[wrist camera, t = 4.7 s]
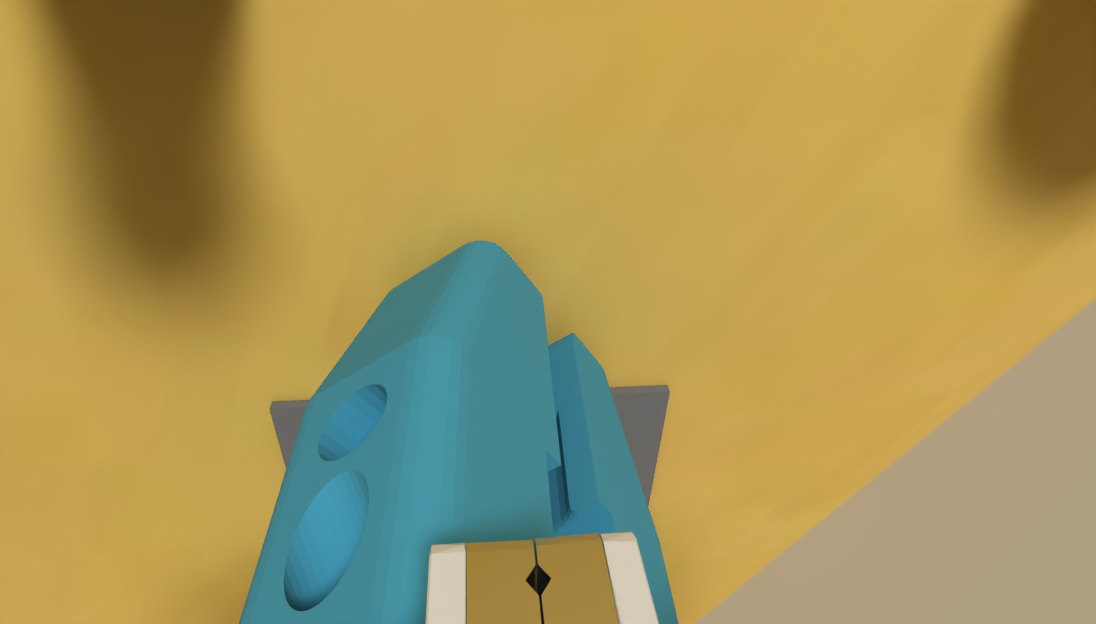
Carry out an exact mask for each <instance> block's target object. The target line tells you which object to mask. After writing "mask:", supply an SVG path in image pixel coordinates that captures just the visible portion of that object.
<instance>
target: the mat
mask: <svg viewBox="0 0 1096 624" xmlns="http://www.w3.org/2000/svg"><path fill="white" fill-rule="evenodd" d="M610 391H611V394H612V397H613V400H614V403H615V406H616V409H617V413H618V416H619V419H620V422H621V425H622V428H623V431H624V434H625V437H626V440H627V443H628V446H629V450H630V453H631V456H632V459H633V462H634V465H635V468H636V471H637V474H638V477H639V480H640V483H641V487H642V490H643V493H644V496H645V499H646V502H647V505H649V500H650V494H651V489H652V484H653V478H654V473H655V468H656V462H657V457H658V452H659V446H660V441H661V436H662V430H663V425H664V420H665V414H666V409H667V404H668V398H669V393H670V391H669V389H668V386H667V385H664V386H640V387H616V388H610ZM309 401H310V400H301V401H277V402H272V404H271V406H270V412H271V415H272V419H273V423H274V426H275V430H276V434H277V437H278V441H279V445H280V448H281V452H282V455H283V459H284V463H285V466H286V469H287V466H288V463H289V459H290V456H291V453H292V450H293V446H294V443H295V440H296V437H297V433H298V430H299V427H300V424H301V420H302V417H303V414H304V411H305V407H306V406H307V404H308V402H309Z"/></svg>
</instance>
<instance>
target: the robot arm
mask: <svg viewBox="0 0 1096 624" xmlns="http://www.w3.org/2000/svg"><path fill="white" fill-rule="evenodd" d="M426 624H659V622H658V618H657V615H656V611H655V607H654V603H653V600H652V596H651V592H650V588H649V584H648V581H647V577H646V573H645V569H644V566H643V562H642V558H641V554H640V550H639V547H638V543H637V539H636V537H635V536H634V534H633V533H632V532H630V531H628V532H617V533H606V534H598V533H591V534H579V535H567V536H556V537H544V538H534V542H533V540H514V541H494V542H474V543H467V547H466V543H453V544H438V545H432V546H431V551H430V555H429V570H428V589H427V607H426Z"/></svg>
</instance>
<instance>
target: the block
mask: <svg viewBox="0 0 1096 624" xmlns="http://www.w3.org/2000/svg"><path fill="white" fill-rule="evenodd" d="M628 531H630V532H632V533H633V534H634V536H635V537H636V539H637V543H638V547H639V550H640V554H641V558H642V562H643V566H644V569H645V573H646V577H647V581H648V584H649V588H650V592H651V596H652V600H653V603H654V607H655V611H656V615H657V618H658V622H659V624H678V620H677V615H676V611H675V607H674V603H673V598H672V594H671V590H670V585H669V581H668V577H667V573H666V568H665V564H664V560H663V556H662V551H661V547H660V543H659V539H658V536H657V533H656V530H655V527H654V524H653V520H652V517H651V514H650V511H649V508H648V505H647V502H646V499H645V496H644V493H643V490H642V487H641V483H640V480H639V477H638V474H637V471H636V468H635V465H634V462H633V459H632V456H631V453H630V450H629V446H628V443H627V440H626V437H625V434H624V431H623V428H622V425H621V422H620V419H619V416H618V413H617V409H616V406H615V403H614V400H613V397H612V394H611V391H610V388H609V385H608V382H607V379H606V376H605V372H604V370H603V368H602V366H601V365H600V364H599V363H598V361H597V360H596V359H595V358H594V357H593V355H592V354H591V353H590V352H589V351H588V349H587V348H586V347H585V346H584V345H583V343H582V342H581V341H580V340H579V339H578V337H577V336H576V335H575V334H574V333H572V334H570V335H568V336H566V337H564V338H562V339H561V340H559V341H557V342H555V343H553V344H551V345H549V346H548V342H547V333H546V324H545V315H544V306H543V298H542V296H541V294H540V292H539V291H538V290H537V288H536V287H535V286H534V285H533V284H532V282H531V281H530V280H529V279H528V278H527V276H526V275H525V274H524V273H523V272H522V270H521V269H520V268H519V267H518V266H517V264H516V263H515V262H514V261H513V260H512V258H511V257H510V256H509V255H508V254H507V252H506V251H504V250H503V249H502V248H501V247H500V246H498V245H496V244H494V243H491V242H487V241H475V242H470V243H468V244H465V245H463V246H462V247H460V248H458V249H457V250H455V251H454V252H452V253H450V254H449V255H447V256H445V257H444V258H442V259H441V260H439V261H437V262H436V263H434V264H432V265H431V266H429V267H428V268H426V269H424V270H423V271H421V272H420V273H418V274H416V275H415V276H413V277H411V278H410V279H408V280H407V281H405V282H403V283H402V284H400V285H398V286H397V287H395V288H394V289H392V290H391V291H390V292H389V293H388V294H387V296H386V297H385V298H384V300H383V301H382V302H381V304H380V305H379V306H378V308H377V309H376V311H375V312H374V313H373V315H372V316H371V317H370V319H369V320H368V321H367V323H366V324H365V326H364V327H363V328H362V330H361V331H360V332H359V334H358V335H357V336H356V338H355V339H354V341H353V342H352V343H351V345H350V346H349V347H348V349H347V350H346V352H345V353H344V354H343V356H342V357H341V358H340V360H339V361H338V362H337V364H336V365H335V367H334V368H333V369H332V371H331V372H330V373H329V375H328V376H327V377H326V379H325V380H324V382H323V383H322V384H321V386H320V387H319V388H318V390H317V391H316V392H315V394H314V395H313V397H312V398H311V399H310V401H309V402H308V404H307V406H306V407H305V411H304V414H303V417H302V420H301V424H300V427H299V430H298V433H297V437H296V440H295V443H294V446H293V450H292V453H291V456H290V459H289V463H288V466H287V469H286V472H285V476H284V479H283V482H282V485H281V489H280V492H279V495H278V498H277V502H276V505H275V508H274V511H273V515H272V518H271V521H270V524H269V528H268V531H267V534H266V537H265V541H264V544H263V547H262V550H261V554H260V557H259V560H258V563H257V567H256V570H255V573H254V576H253V580H252V583H251V586H250V589H249V593H248V596H247V599H246V602H245V606H244V609H243V612H242V615H241V619H240V622H239V624H426V607H427V589H428V570H429V555H430V551H431V546H432V545H438V544H453V543H466V547H467V543H474V542H494V541H514V540H533V542H534V538H544V537H556V536H567V535H579V534H591V533H598V534H606V533H617V532H628Z"/></svg>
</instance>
